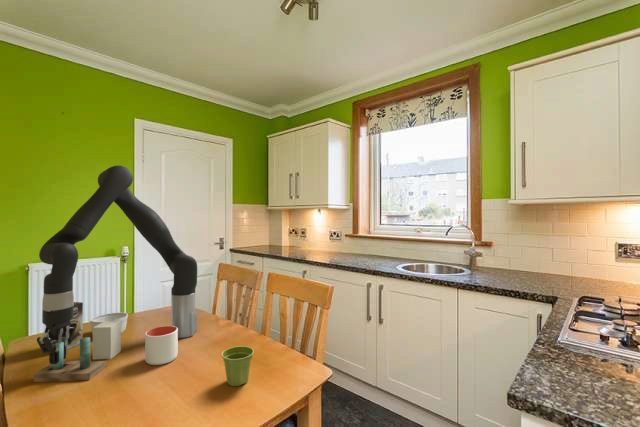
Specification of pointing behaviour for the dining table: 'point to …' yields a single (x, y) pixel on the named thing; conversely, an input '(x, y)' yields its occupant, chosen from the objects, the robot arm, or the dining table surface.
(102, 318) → the ramekin
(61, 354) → the pin
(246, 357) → the plant pot
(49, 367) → the board
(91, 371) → the board
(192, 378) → the dining table surface
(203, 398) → the dining table surface
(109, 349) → the block
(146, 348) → the cup
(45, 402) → the dining table surface
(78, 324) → the coffee box
